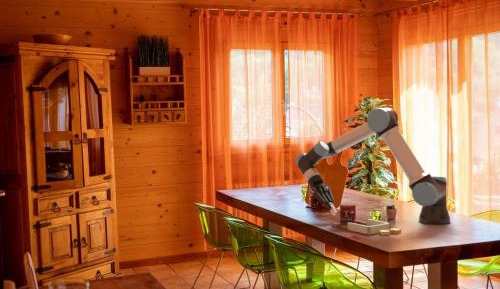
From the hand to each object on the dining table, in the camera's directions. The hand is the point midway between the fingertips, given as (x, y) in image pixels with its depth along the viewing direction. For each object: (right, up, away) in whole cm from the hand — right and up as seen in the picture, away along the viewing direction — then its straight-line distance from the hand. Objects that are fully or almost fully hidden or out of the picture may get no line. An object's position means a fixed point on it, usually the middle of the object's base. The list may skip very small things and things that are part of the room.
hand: (335, 213), depth 308 cm
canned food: (+5, -5, -7) cm, 10 cm away
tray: (+13, -5, -19) cm, 23 cm away
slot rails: (+6, -5, -8) cm, 11 cm away
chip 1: (+19, -6, -29) cm, 35 cm away
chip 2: (+24, -6, -26) cm, 36 cm away
